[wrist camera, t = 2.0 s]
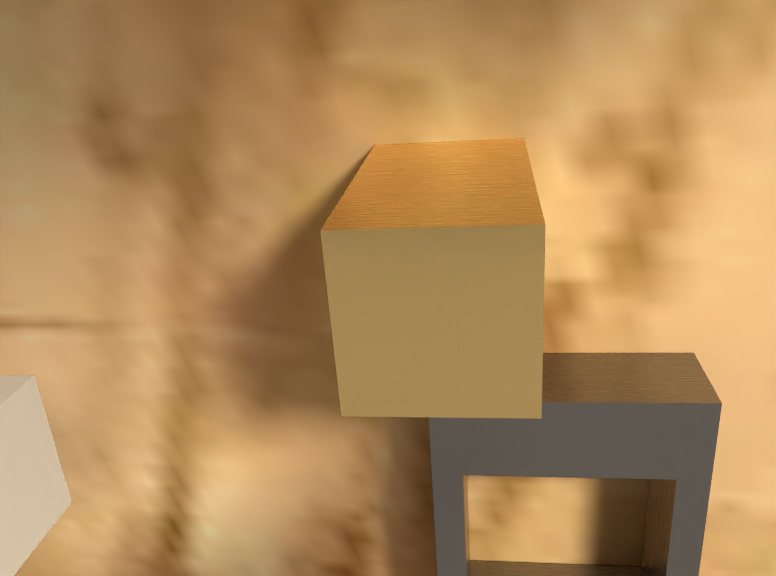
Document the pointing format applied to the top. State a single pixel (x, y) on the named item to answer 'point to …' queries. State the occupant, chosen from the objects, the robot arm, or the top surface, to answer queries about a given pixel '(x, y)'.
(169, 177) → the top surface
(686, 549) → the gray slotted rack
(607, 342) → the top surface
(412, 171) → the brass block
